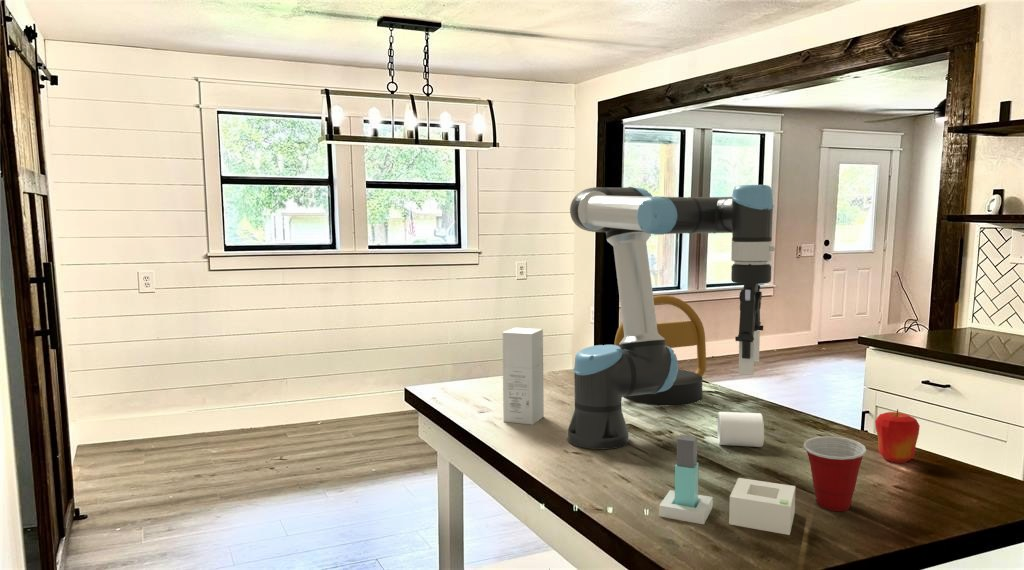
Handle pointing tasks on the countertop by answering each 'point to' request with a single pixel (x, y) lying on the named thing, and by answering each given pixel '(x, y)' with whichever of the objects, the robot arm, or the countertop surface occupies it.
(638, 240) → the robot arm
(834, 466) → the plastic cup
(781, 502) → the port
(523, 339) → the tall white carton
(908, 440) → the apple
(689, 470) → the plug
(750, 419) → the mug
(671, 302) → the chair
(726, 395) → the countertop surface
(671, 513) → the holster
